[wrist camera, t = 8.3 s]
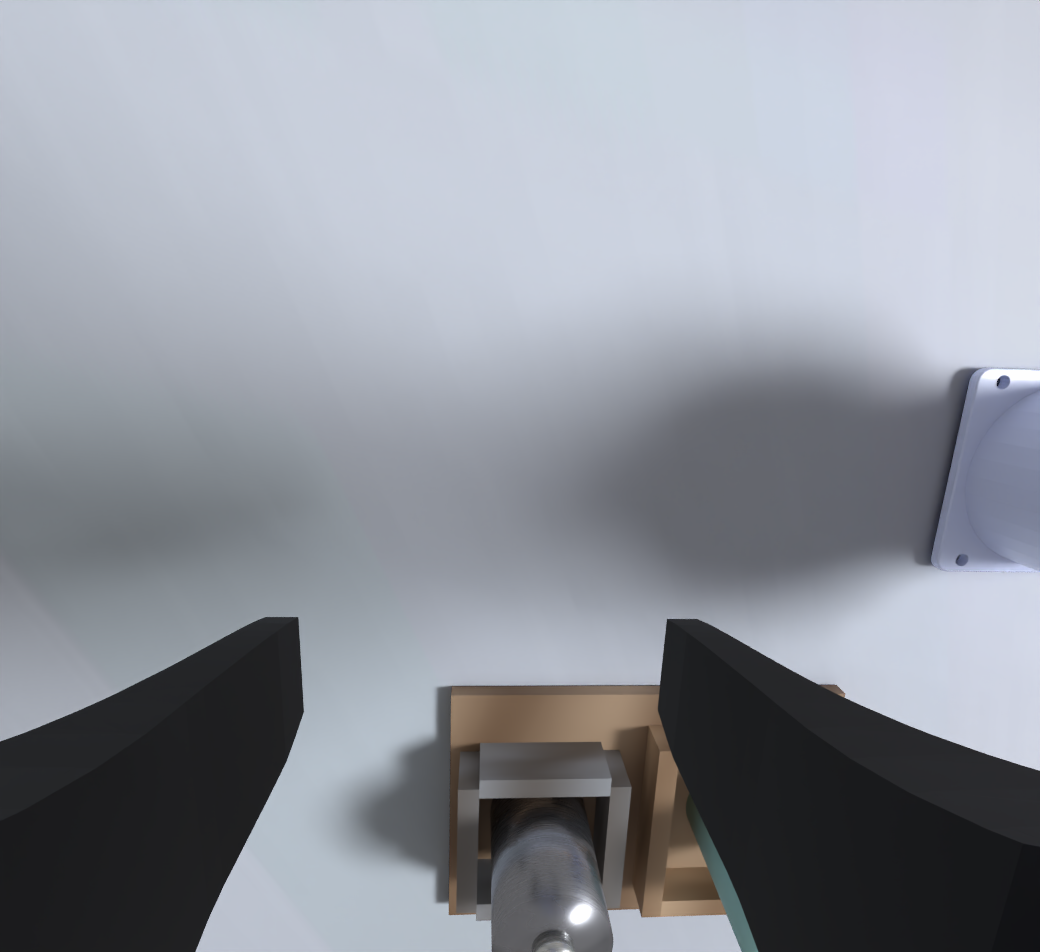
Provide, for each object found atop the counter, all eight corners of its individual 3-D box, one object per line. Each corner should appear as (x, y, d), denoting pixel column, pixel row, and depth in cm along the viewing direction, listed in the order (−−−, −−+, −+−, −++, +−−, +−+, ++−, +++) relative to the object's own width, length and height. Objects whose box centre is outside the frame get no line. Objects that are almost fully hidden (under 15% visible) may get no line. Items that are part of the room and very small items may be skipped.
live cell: (759, 750, 23) (850, 892, 17) (788, 818, 24) (885, 975, 18) (672, 788, 23) (732, 940, 17) (704, 853, 24) (773, 1019, 18)
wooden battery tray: (836, 684, 23) (878, 725, 21) (797, 891, 26) (831, 949, 23) (451, 686, 22) (447, 729, 20) (449, 901, 25) (445, 964, 22)
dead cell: (586, 768, 23) (622, 915, 17) (581, 846, 24) (612, 1011, 18) (491, 770, 23) (493, 919, 17) (489, 849, 24) (490, 1017, 18)
